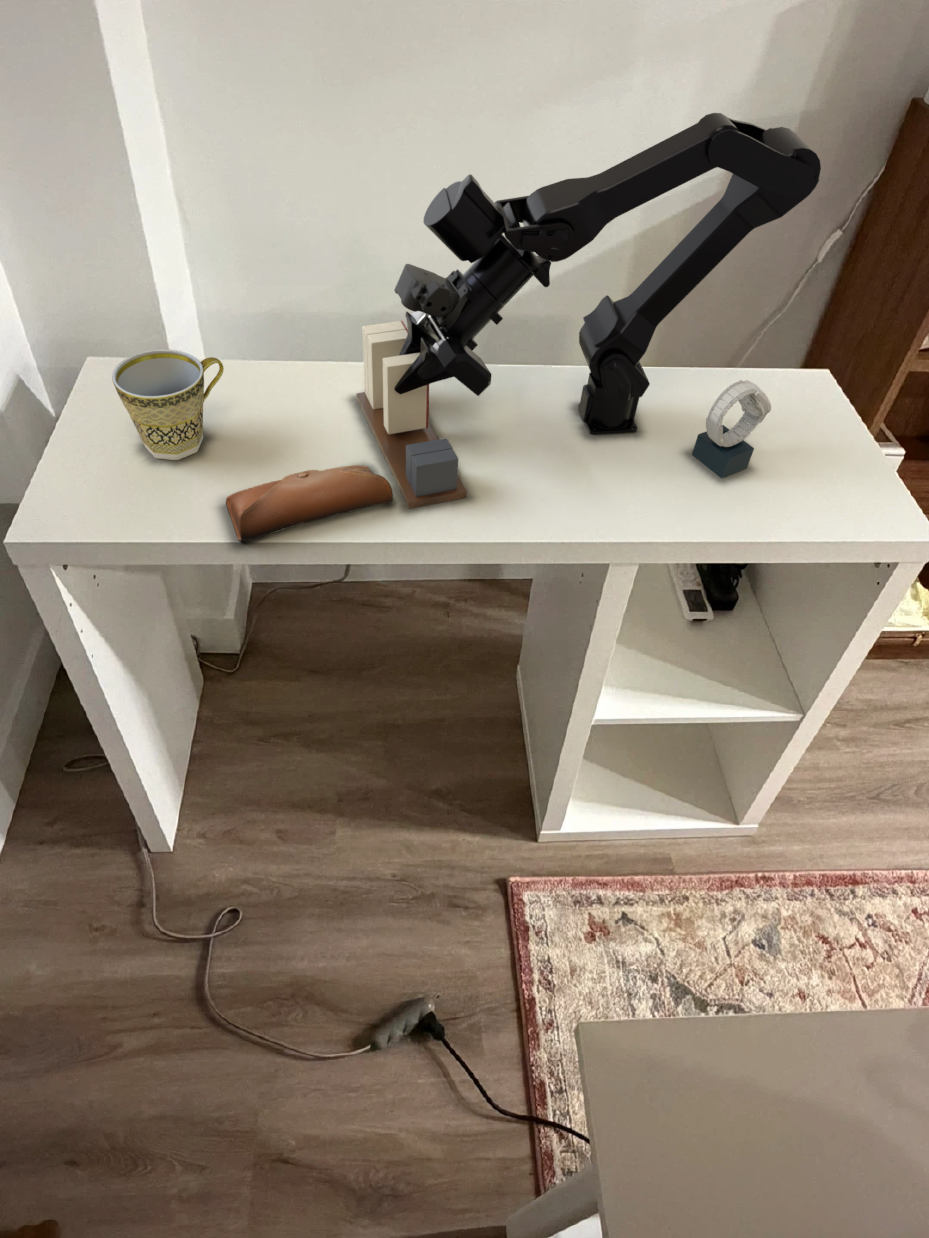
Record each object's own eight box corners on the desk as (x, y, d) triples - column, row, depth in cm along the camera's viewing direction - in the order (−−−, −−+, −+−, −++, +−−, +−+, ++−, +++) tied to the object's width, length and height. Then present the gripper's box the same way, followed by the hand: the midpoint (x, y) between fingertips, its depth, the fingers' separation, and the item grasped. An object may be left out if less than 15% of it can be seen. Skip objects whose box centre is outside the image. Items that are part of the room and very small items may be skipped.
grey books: (445, 468, 104) (446, 437, 100) (456, 489, 101) (458, 458, 98) (405, 475, 102) (405, 444, 99) (416, 497, 100) (416, 466, 96)
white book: (423, 418, 109) (424, 351, 102) (428, 428, 108) (429, 360, 101) (383, 425, 108) (382, 357, 100) (388, 434, 106) (387, 367, 99)
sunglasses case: (366, 461, 104) (376, 438, 98) (386, 514, 103) (397, 494, 97) (220, 498, 98) (220, 476, 92) (239, 554, 98) (241, 536, 91)
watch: (757, 464, 109) (786, 389, 101) (711, 483, 106) (737, 407, 98) (726, 440, 112) (752, 365, 104) (681, 458, 109) (704, 382, 101)
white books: (402, 386, 115) (402, 320, 108) (411, 403, 112) (412, 337, 105) (364, 392, 113) (362, 326, 106) (373, 410, 111) (371, 343, 104)
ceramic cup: (157, 480, 101) (138, 408, 93) (117, 439, 105) (96, 366, 98) (253, 440, 107) (242, 369, 99) (211, 402, 111) (198, 332, 104)
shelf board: (408, 391, 116) (408, 385, 115) (466, 497, 102) (467, 491, 101) (356, 399, 114) (356, 393, 113) (408, 508, 100) (408, 502, 99)
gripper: (414, 206, 97) (325, 309, 103) (471, 284, 86) (367, 396, 91) (474, 266, 105) (389, 359, 111) (534, 344, 94) (435, 444, 99)
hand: (394, 386), depth 103 cm, fingers closed on white book, 2 cm apart
